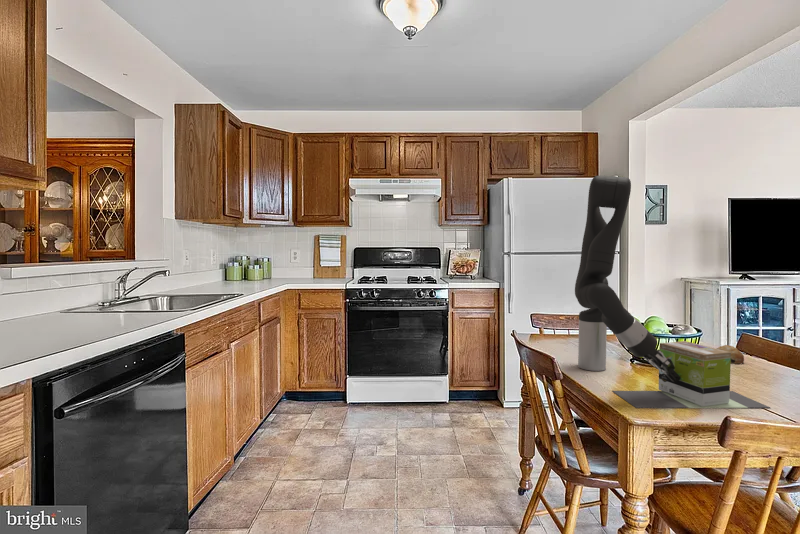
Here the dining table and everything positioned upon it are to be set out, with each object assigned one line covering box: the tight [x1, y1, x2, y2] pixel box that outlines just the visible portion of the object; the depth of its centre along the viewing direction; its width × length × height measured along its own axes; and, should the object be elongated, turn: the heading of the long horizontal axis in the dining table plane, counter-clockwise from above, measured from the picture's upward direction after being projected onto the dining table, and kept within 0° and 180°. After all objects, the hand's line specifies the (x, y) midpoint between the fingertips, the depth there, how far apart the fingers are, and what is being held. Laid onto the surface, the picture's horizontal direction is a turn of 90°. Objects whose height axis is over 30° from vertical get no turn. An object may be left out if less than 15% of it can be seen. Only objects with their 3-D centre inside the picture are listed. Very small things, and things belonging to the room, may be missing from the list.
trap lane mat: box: [612, 390, 771, 410], centre depth 129 cm, size 14×36×1 cm, turn 90°
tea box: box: [658, 340, 732, 407], centre depth 130 cm, size 15×10×15 cm, turn 16°
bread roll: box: [715, 344, 745, 365], centre depth 173 cm, size 10×10×8 cm
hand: (676, 379), depth 128 cm, fingers closed
